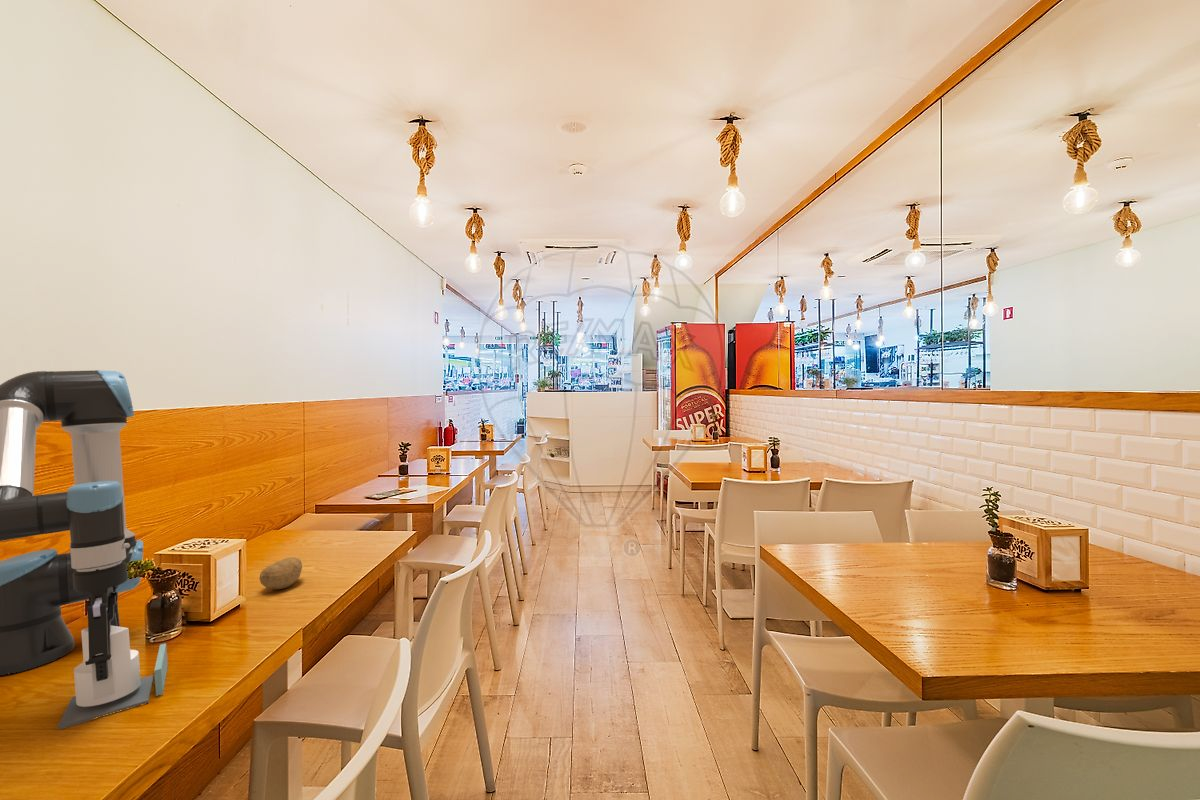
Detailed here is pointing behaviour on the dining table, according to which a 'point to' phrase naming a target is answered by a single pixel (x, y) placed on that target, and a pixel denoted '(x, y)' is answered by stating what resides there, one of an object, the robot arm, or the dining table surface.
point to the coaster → (106, 705)
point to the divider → (161, 669)
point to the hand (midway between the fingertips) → (108, 684)
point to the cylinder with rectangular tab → (123, 669)
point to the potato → (281, 573)
